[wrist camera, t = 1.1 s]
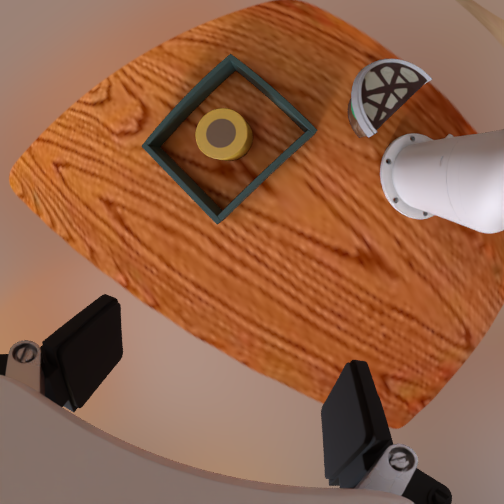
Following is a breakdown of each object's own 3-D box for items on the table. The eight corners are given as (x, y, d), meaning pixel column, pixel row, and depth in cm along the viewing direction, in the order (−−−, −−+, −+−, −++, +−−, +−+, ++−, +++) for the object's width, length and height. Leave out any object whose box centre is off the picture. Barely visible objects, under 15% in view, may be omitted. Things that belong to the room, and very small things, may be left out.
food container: (374, 65, 29) (397, 38, 20) (403, 95, 30) (434, 76, 20) (320, 112, 33) (331, 92, 23) (352, 144, 34) (373, 135, 24)
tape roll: (229, 107, 34) (221, 98, 29) (262, 137, 35) (259, 132, 30) (197, 139, 36) (185, 135, 31) (228, 170, 37) (220, 170, 32)
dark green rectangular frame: (236, 64, 32) (230, 53, 28) (314, 134, 34) (317, 130, 30) (154, 147, 37) (141, 146, 33) (224, 219, 39) (217, 224, 35)
